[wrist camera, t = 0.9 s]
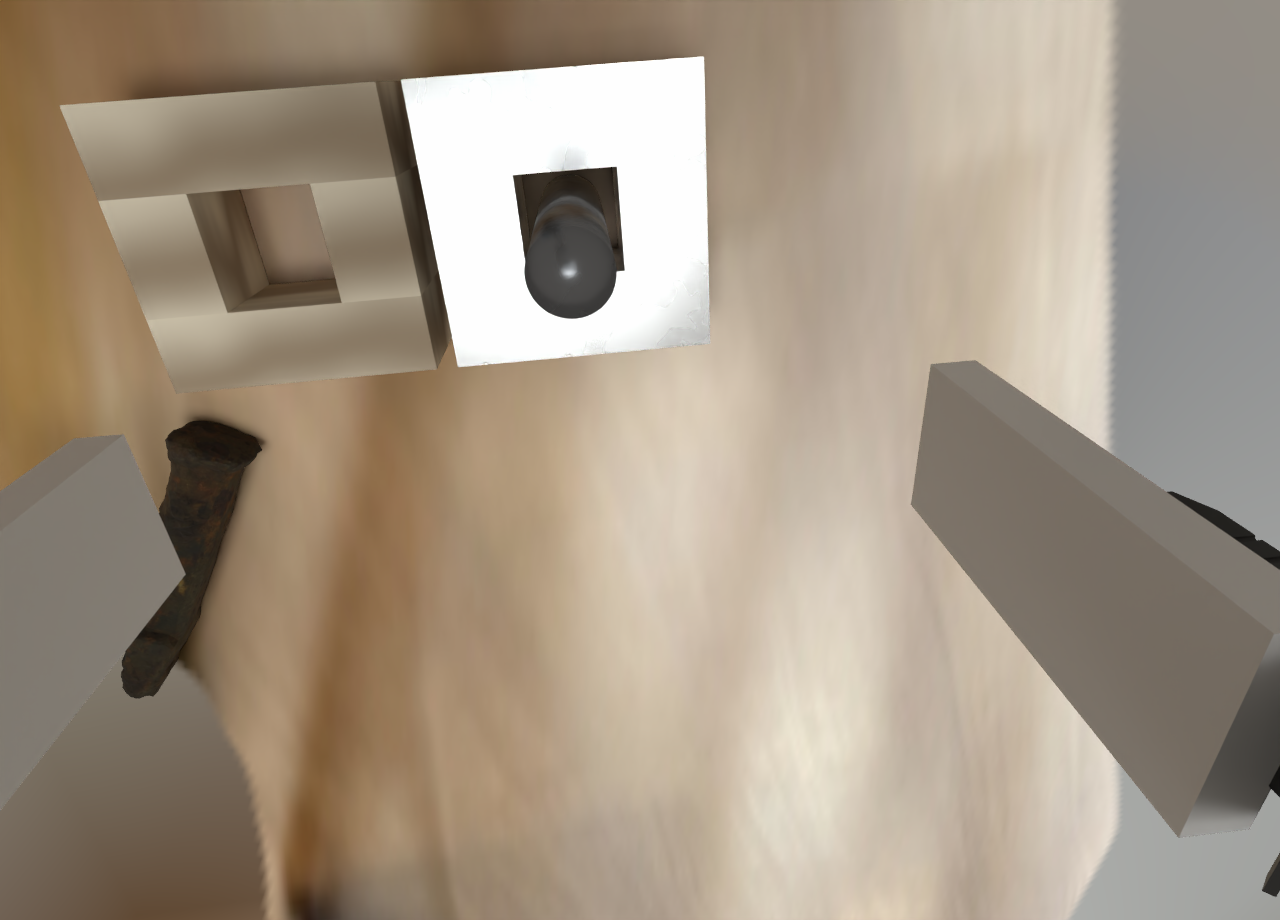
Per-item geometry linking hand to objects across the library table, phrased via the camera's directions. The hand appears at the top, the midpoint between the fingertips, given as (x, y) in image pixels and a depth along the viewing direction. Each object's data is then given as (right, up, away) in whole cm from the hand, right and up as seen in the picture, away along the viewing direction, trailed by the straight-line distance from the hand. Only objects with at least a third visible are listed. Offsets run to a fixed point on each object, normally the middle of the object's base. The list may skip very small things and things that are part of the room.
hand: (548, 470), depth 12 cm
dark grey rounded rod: (-2, +13, +23) cm, 27 cm away
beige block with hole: (-15, +11, +23) cm, 30 cm away
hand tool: (-25, -5, +31) cm, 40 cm away
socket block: (-2, +13, +23) cm, 27 cm away
